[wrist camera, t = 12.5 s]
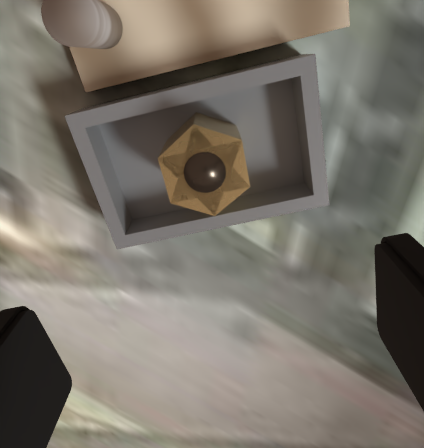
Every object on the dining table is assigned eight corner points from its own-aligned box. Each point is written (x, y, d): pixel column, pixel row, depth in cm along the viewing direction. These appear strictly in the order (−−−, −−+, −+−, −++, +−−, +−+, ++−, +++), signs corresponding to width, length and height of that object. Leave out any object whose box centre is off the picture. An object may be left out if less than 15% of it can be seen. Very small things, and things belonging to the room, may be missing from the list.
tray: (301, 54, 24) (315, 54, 21) (315, 188, 29) (329, 205, 25) (82, 108, 26) (64, 116, 23) (126, 228, 30) (116, 249, 27)
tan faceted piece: (232, 103, 25) (237, 114, 20) (246, 183, 27) (254, 208, 23) (160, 120, 25) (150, 134, 21) (181, 196, 28) (176, 224, 23)
